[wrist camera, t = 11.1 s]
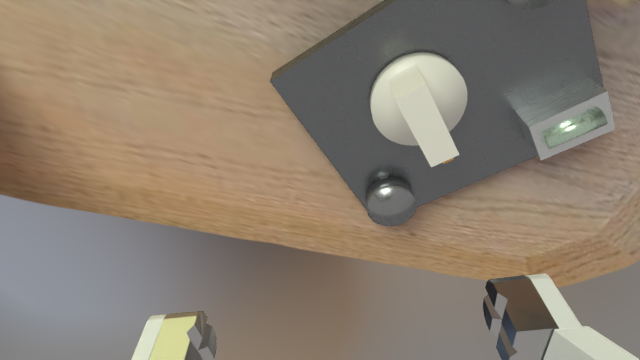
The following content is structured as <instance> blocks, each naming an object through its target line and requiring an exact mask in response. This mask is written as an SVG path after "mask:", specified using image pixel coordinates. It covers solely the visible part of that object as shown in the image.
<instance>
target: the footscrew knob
mask: <svg viewBox="0 0 640 360" xmlns="http://www.w3.org/2000/svg"><path fill="white" fill-rule="evenodd" d="M466 105H467V87H466V84H465V81H464V79H463V77H462V76H461V74H460V73H459V72H458V70H457V69H456V68H455V66H454V65H453V64H452V63H451V62H450V61H449V60H447V59H446V58H444V57H442V56H440V55H437V54H434V53H428V52H418V53H412V54H408V55H405V56H402V57H400V58H398V59H396V60H394V61H393V62H391V63H390V64H389V65H387V66H386V67H385V68H384V69H383V70H382V71H381V73H380V74H379V75H378V77H377V78H376V80H375V82H374V84H373V86H372V90H371V93H370V107H371V113H372V118H373V121H374V123H375V125H376V127H377V129H378V130H379V131H380V132H381V133H382V135H384V136H385V137H386V138H388V139H389V140H391V141H393V142H395V143H398V144H402V145H411V146H415V145H419V146H420V148H421V150H422V151H423V153H424V155H425V157H426V159H427V161H428V162H429V164H430V166H431V167H433V166H436V165H438V164H440V163H442V162H443V164H445V163H448V162H450V161H452V160H451V158H454V157H456V156H458V155H459V152H458V150H457V148H456V146H455V144H454V142H453V140H452V138H451V136H450V133H449V132H450V131H451V130H452V129H453V128H454V127H455V126H456V125H457V123H458V122H459V121H460V119H461V117H462V116H463V113H464V111H465V108H466Z"/></svg>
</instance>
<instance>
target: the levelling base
mask: <svg viewBox="0 0 640 360" xmlns="http://www.w3.org/2000/svg"><path fill="white" fill-rule="evenodd" d="M418 52H428V53H434V54H437V55H440V56H442V57H444V58H446V59H447V60H449V61H450V62H451V63H452V64H453V65H454V66H455V68H456V69H457V70H458V72H459V73H460V74H461V76H462V77H463V79H464V81H465V84H466V87H467V105H466V108H465V111H464V113H463V116H462V117H461V119H460V121H459V122H458V123H457V125H456V126H455V127H454V128H453V129H452V130H451V131H450V132H449V133H450V136H451V138H452V140H453V142H454V144H455V146H456V148H457V150H458V152H459V155H458V156H456V157H454V158H451V160H452V161H450V162H448V163H445V164H443V162H442V163H440V164H438V165H436V166H433V167H431V166H430V164H429V162H428V161H427V159H426V157H425V155H424V153H423V151H422V150H421V148H420V146H419V145H415V146H411V145H402V144H398V143H395V142H393V141H391V140H389V139H388V138H386V137H385V136H384V135H382V133H381V132H380V131H379V130H378V129H377V127H376V125H375V123H374V121H373V118H372V113H371V107H370V93H371V90H372V86H373V84H374V82H375V80H376V78H377V77H378V75H379V74H380V73H381V71H382V70H383V69H384V68H385V67H386V66H387V65H389V64H390V63H391V62H393V61H394V60H396V59H398V58H400V57H402V56H405V55H408V54H412V53H418ZM270 82H271V83H272V85H273V86H274V87H275V89H276V90H277V91H278V93H279V94H280V95H281V97H282V98H283V99H284V101H285V102H286V103H287V105H288V106H289V107H290V109H291V110H292V111H293V113H294V114H295V115H296V117H297V118H298V119H299V121H300V122H301V123H302V125H303V126H304V127H305V129H306V130H307V131H308V133H309V134H310V135H311V137H312V138H313V139H314V141H315V142H316V143H317V145H318V146H319V147H320V149H321V150H322V151H323V153H324V154H325V155H326V157H327V158H328V159H329V161H330V162H331V163H332V165H333V166H334V167H335V169H336V170H337V171H338V173H339V174H340V175H341V177H342V178H343V179H344V181H345V182H346V183H347V185H348V186H349V187H350V189H351V190H352V191H353V193H354V194H355V195H356V197H357V198H358V199H359V201H360V202H361V203H362V205H363V206H364V207H365V209H366V210H367V212H368V215H369V217H370V218H371V219H372V220H373V221H374V222H375V223H377V224H380V225H383V226H396V225H400V224H402V223H404V222H406V221H408V220H409V219H410V218H411V217H412V216H413V215H414V213H415V211H416V207H418V206H421V205H423V204H425V203H428V202H430V201H432V200H435V199H437V198H439V197H442V196H444V195H446V194H449V193H451V192H453V191H456V190H458V189H460V188H463V187H465V186H467V185H470V184H472V183H474V182H477V181H479V180H481V179H484V178H486V177H488V176H491V175H493V174H495V173H498V172H500V171H502V170H505V169H507V168H509V167H512V166H514V165H517V164H519V163H521V162H524V161H526V160H528V159H531V158H533V157H535V156H537V157H538V158H539V159H540V160H544V159H546V158H548V157H551V156H553V155H555V154H558V153H560V152H562V151H565V150H567V149H570V148H572V147H574V146H577V145H579V144H581V143H584V142H586V141H589V140H591V139H593V138H596V137H598V136H600V135H603V134H605V133H607V132H610V131H612V130H615V125H614V120H613V115H612V110H611V105H610V100H609V95H608V91H607V90H605V89H604V88H603V84H602V79H601V74H600V69H599V64H598V60H597V55H596V50H595V45H594V40H593V35H592V31H591V26H590V21H589V16H588V11H587V7H586V2H585V0H384V1H383V2H381V3H380V4H378V5H376V6H375V7H373V8H372V9H370V10H369V11H367V12H366V13H364V14H363V15H361V16H359V17H358V18H356V19H355V20H353V21H352V22H350V23H349V24H347V25H346V26H344V27H342V28H341V29H339V30H338V31H336V32H335V33H333V34H332V35H330V36H329V37H327V38H325V39H324V40H322V41H321V42H319V43H318V44H316V45H315V46H313V47H312V48H310V49H309V50H307V51H305V52H304V53H302V54H301V55H299V56H298V57H296V58H295V59H293V60H292V61H290V62H288V63H287V64H285V65H284V66H282V67H281V68H279V69H278V70H276V71H275V72H273V73H272V77H271V80H270Z"/></svg>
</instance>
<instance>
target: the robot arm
mask: <svg viewBox="0 0 640 360" xmlns="http://www.w3.org/2000/svg"><path fill="white" fill-rule="evenodd" d="M485 288H486V290H487V292H488V295H487V296H486V297H485V298H484V301H483V311H484V317H485V320H486V324H487V326H488V329H489V331H490V332H491V333H492V334H493V335H495V336H496V337H497V338H498V341H497V346H496V348H497V350H498V352H499V355H500V357H501V359H502V360H640V359H638V358H637V357H635V356H634V355H632V354H630V353H629V352H627V351H626V350H624V349H623V348H621V347H620V346H618V345H617V344H615V343H613V342H612V341H610V340H609V339H607V338H606V337H604V336H602V335H601V334H600V333H598V332H596V331H595V330H593V329H592V328H590V327H589V326H582V325H581V324H580V323H579V321H578V319H577V318H576V316H575V315H574V313H573V312H572V310H571V309H570V307H569V306H568V304H567V303H566V301H565V300H564V298H563V297H562V295H561V293H560V292H559V290H558V289H557V287H556V286H555V284H554V283H553V281H552V280H551V278H550V277H549V276H548V275H547V274H535V275H527V276H524V275H522V276H514V277H506V278H498V279H490V280H488V281H487V283H486V287H485ZM206 322H207V316H206V314H205V313H204V311H197V312H186V313H175V314H163V315H153V316H151V317H150V318H149V319H148V321H147V322H146V325H145V327H144V330H143V332H142V334H141V337H140V339H139V342H138V345H137V347H136V349H135V352H134V354H133V357H132V359H131V360H214V358H215V353H216V334H215V331H214V329H213V327H212V326H210V325H209V324H207V323H206Z"/></svg>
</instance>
